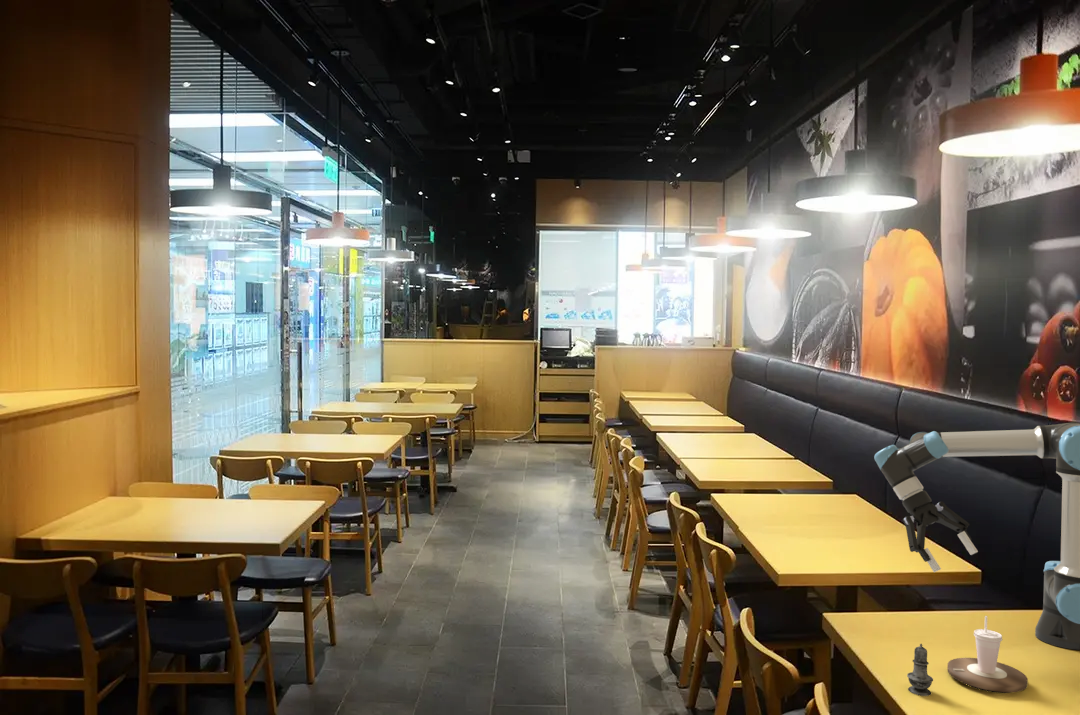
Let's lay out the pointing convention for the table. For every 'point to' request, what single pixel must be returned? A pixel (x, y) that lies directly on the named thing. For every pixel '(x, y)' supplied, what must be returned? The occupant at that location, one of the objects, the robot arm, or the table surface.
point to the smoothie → (987, 648)
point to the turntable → (987, 676)
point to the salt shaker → (920, 673)
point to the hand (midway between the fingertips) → (956, 562)
